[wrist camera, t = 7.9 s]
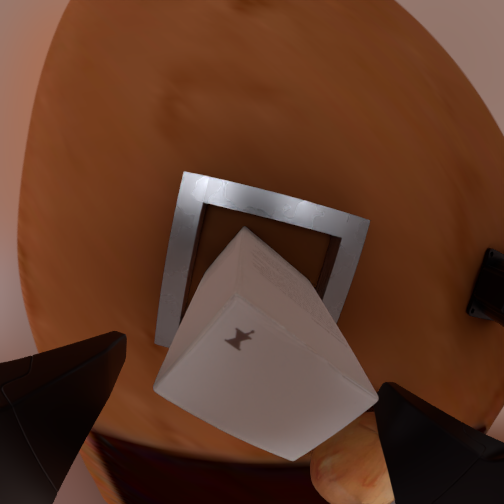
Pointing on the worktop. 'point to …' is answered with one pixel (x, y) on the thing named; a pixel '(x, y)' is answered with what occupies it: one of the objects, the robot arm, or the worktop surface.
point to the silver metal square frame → (262, 204)
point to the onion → (352, 465)
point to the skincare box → (263, 355)
